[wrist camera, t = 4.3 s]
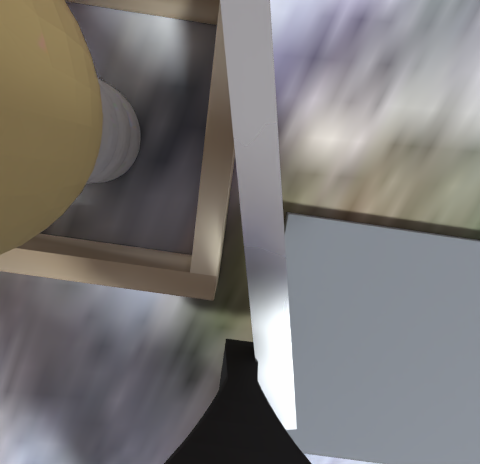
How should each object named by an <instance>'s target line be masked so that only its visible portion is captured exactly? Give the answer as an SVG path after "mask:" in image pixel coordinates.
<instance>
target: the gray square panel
mask: <svg viewBox="0 0 480 464" xmlns="http://www.w3.org/2000/svg"><path fill="white" fill-rule="evenodd" d="M284 235H285V251H286V267H287V283H288V299H289V315H290V331H291V347H292V363H293V379H294V395H295V411H296V427H297V429H291V430H286V431H287V432H288V434H289V435H290V436H291V438H292V439H293V441H294V442H295V444H296V445H297V446H298V447H299V449H300V450H301V451H302V452H303V453H304V454H312V455H320V456H328V457H335V458H343V459H351V460H358V461H366V462H374V463H382V464H480V240H476V239H469V238H462V237H455V236H448V235H441V234H434V233H427V232H421V231H414V230H407V229H400V228H393V227H386V226H379V225H372V224H365V223H359V222H352V221H345V220H338V219H331V218H324V217H317V216H310V215H304V214H297V213H290V212H287V214H286V219H285V224H284Z"/></svg>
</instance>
